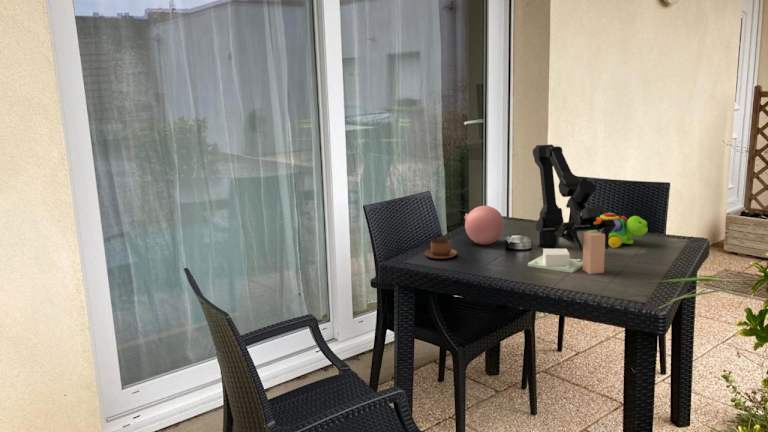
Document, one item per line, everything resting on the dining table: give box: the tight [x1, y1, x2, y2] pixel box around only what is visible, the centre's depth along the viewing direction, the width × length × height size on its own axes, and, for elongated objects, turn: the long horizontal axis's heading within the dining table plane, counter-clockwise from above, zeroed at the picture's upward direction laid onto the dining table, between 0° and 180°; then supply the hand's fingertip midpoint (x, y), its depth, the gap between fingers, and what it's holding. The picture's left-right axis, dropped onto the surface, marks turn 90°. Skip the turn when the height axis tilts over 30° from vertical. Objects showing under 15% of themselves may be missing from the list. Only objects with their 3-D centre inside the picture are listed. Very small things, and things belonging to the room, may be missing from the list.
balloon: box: [463, 205, 505, 246], centre depth 253 cm, size 15×20×15 cm
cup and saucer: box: [424, 238, 458, 260], centre depth 236 cm, size 12×12×6 cm
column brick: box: [582, 231, 606, 275], centre depth 210 cm, size 5×5×13 cm
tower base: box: [527, 248, 583, 274], centre depth 220 cm, size 16×13×5 cm
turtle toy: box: [587, 212, 649, 249], centre depth 245 cm, size 17×23×12 cm
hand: (594, 249), depth 210 cm, fingers open, 9 cm apart
